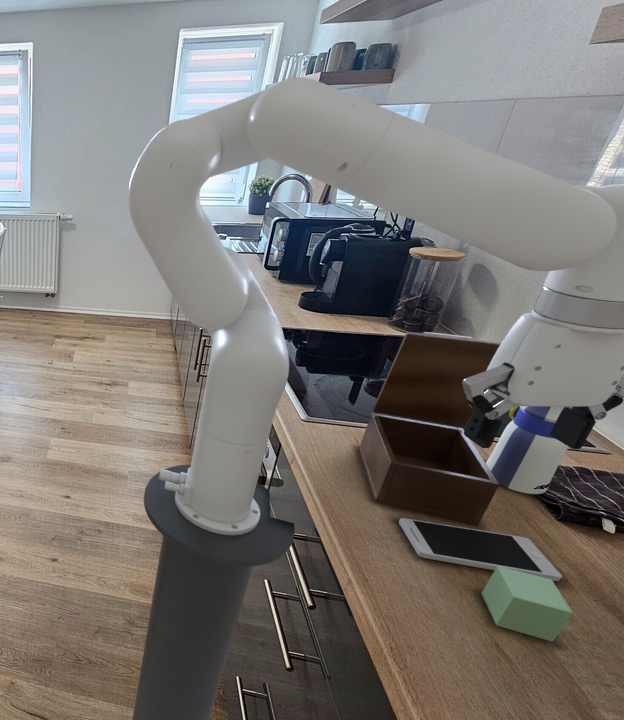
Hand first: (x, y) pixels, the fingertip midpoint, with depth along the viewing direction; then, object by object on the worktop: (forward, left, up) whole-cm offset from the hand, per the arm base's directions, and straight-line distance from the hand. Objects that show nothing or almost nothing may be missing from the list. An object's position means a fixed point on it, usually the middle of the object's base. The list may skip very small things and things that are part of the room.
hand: (519, 442), depth 60 cm
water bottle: (+13, +25, -20) cm, 35 cm away
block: (+3, -8, -20) cm, 22 cm away
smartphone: (+3, +3, -20) cm, 20 cm away
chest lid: (-1, +23, -4) cm, 23 cm away
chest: (-1, +17, -20) cm, 26 cm away
